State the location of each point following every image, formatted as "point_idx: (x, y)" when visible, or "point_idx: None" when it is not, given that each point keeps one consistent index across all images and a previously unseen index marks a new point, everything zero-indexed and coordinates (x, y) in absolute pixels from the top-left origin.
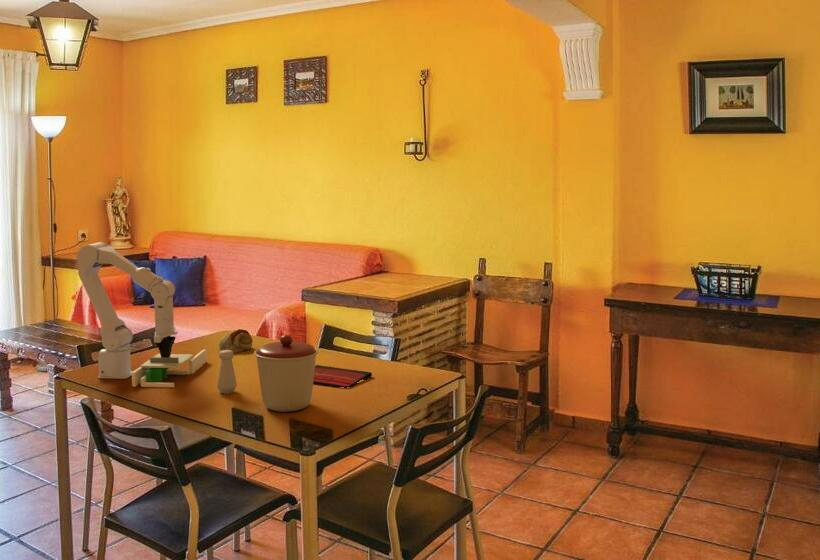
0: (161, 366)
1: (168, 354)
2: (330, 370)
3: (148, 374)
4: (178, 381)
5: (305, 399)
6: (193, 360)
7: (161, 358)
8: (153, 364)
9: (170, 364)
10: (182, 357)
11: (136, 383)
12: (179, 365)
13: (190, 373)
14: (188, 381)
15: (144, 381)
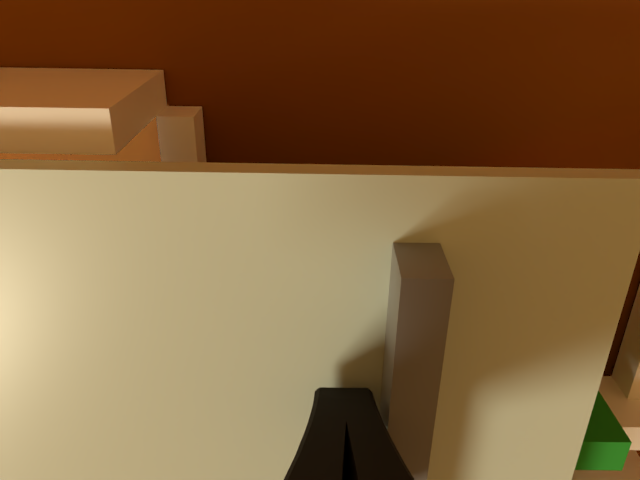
0: (595, 380)
1: (392, 443)
2: None
3: (611, 425)
4: (484, 133)
5: None
6: (50, 104)
7: (426, 470)
8: (509, 477)
9: (530, 307)
10: (116, 267)
11: None
12: (580, 175)
13: (165, 96)
14: (493, 17)
15: (626, 403)
